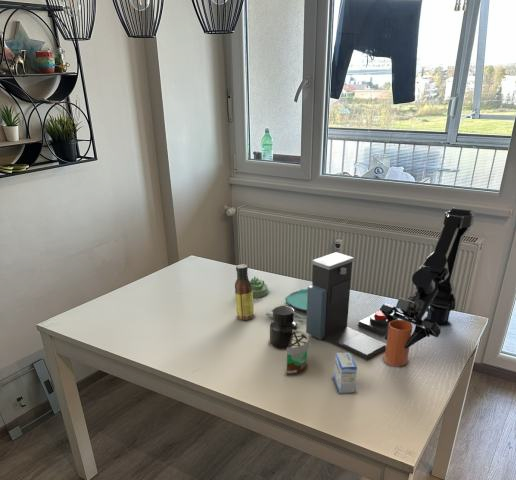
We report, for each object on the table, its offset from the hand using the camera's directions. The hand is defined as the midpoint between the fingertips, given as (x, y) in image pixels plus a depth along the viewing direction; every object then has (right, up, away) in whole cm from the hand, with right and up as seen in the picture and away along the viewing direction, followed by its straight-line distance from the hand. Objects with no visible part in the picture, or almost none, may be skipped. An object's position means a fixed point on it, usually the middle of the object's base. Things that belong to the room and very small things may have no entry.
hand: (395, 343), depth 147 cm
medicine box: (-17, -12, -7) cm, 22 cm away
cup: (+1, -5, +4) cm, 7 cm away
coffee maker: (-12, +1, +15) cm, 20 cm away
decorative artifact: (-43, +21, +52) cm, 70 cm away
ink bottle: (-33, 0, +15) cm, 36 cm away
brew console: (+1, +6, +24) cm, 25 cm away
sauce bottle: (-46, +10, +32) cm, 57 cm away
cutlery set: (-24, +13, +38) cm, 47 cm away
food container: (-29, -8, +2) cm, 30 cm away
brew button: (+1, +9, +23) cm, 25 cm away
